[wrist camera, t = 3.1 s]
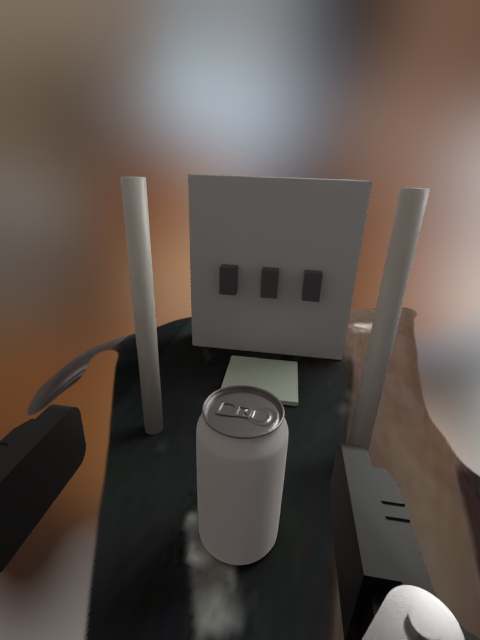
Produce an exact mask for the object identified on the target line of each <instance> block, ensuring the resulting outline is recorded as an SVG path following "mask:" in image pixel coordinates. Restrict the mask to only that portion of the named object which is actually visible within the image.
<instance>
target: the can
mask: <svg viewBox="0 0 480 640" xmlns="http://www.w3.org/2000/svg"><path fill="white" fill-rule="evenodd" d="M284 415H285V412H284V407H283V405H282V403H281V401H280V400H279V399H278V398H277V397H276V396H275V395H273V394H272V393H270V392H269V391H267V390H264V389H262V388H259V387H255V386H249V385H234V386H228V387H224V388H221V389H219V390H217V391H215V392H213V393H212V394H210V395H209V396H208V397H207V398H206V400H205V401H204V403H203V406H202V414H201V416H200V418H199V420H198V423H197V429H196V454H197V498H198V527H199V535H200V538H201V541H202V543H203V545H204V547H205V548H206V550H207V551H208V552H209V553H210V554H211V555H212V556H213V557H215V558H216V559H218V560H220V561H222V562H224V563H227V564H231V565H246V564H251V563H254V562H256V561H258V560H260V559H261V558H263V557H264V556H265V555H266V554H267V553H268V552H269V551H270V550H271V549H272V547H273V546H274V544H275V541H276V538H277V532H278V525H279V517H280V508H281V500H282V491H283V482H284V473H285V464H286V455H287V445H288V426H287V422H286V420H285V418H284Z"/></svg>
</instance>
